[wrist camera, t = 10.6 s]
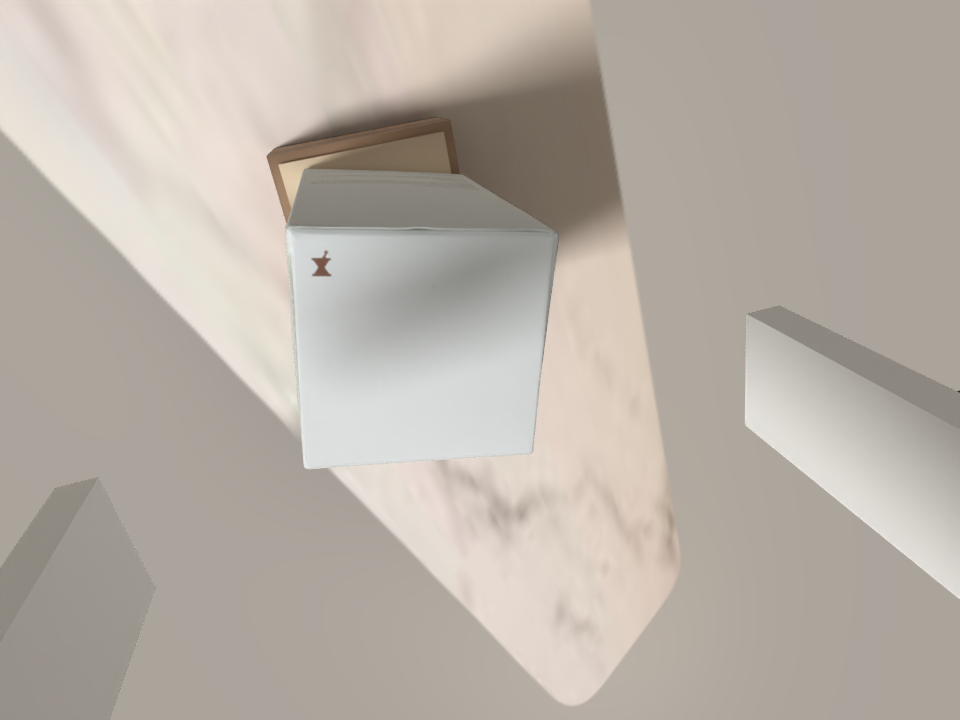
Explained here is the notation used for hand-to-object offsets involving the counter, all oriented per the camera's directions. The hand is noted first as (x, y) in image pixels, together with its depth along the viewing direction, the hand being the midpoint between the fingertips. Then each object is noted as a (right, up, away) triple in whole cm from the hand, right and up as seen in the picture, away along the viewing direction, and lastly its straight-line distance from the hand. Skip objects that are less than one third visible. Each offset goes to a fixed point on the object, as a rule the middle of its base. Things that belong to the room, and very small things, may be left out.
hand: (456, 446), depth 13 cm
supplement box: (-4, +7, +16) cm, 18 cm away
